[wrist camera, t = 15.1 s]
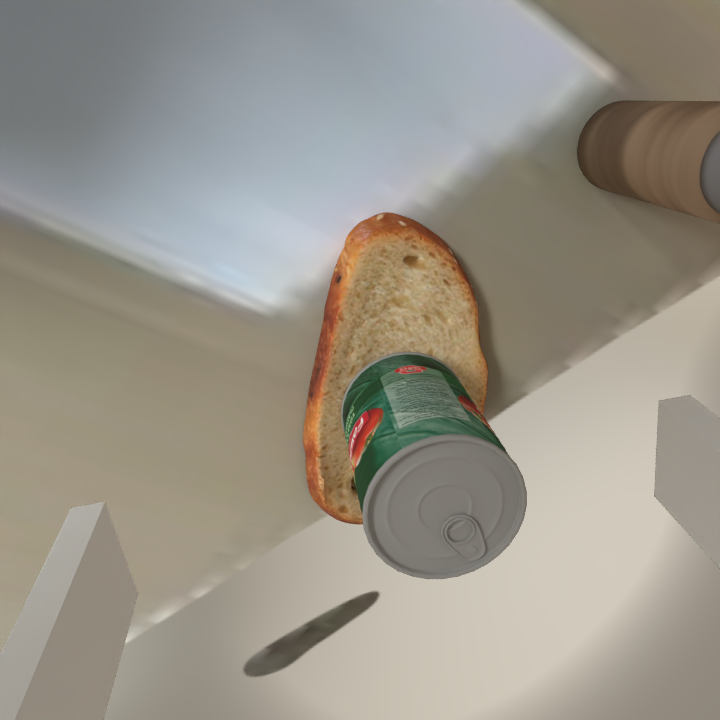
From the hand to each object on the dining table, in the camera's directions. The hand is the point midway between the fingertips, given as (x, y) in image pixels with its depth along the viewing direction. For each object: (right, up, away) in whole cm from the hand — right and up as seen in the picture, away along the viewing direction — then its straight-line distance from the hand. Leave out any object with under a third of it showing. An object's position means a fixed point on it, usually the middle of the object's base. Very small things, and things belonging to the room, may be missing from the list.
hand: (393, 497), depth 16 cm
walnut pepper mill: (+14, +16, +23) cm, 31 cm away
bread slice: (0, +2, +28) cm, 28 cm away
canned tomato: (+2, 0, +26) cm, 26 cm away
